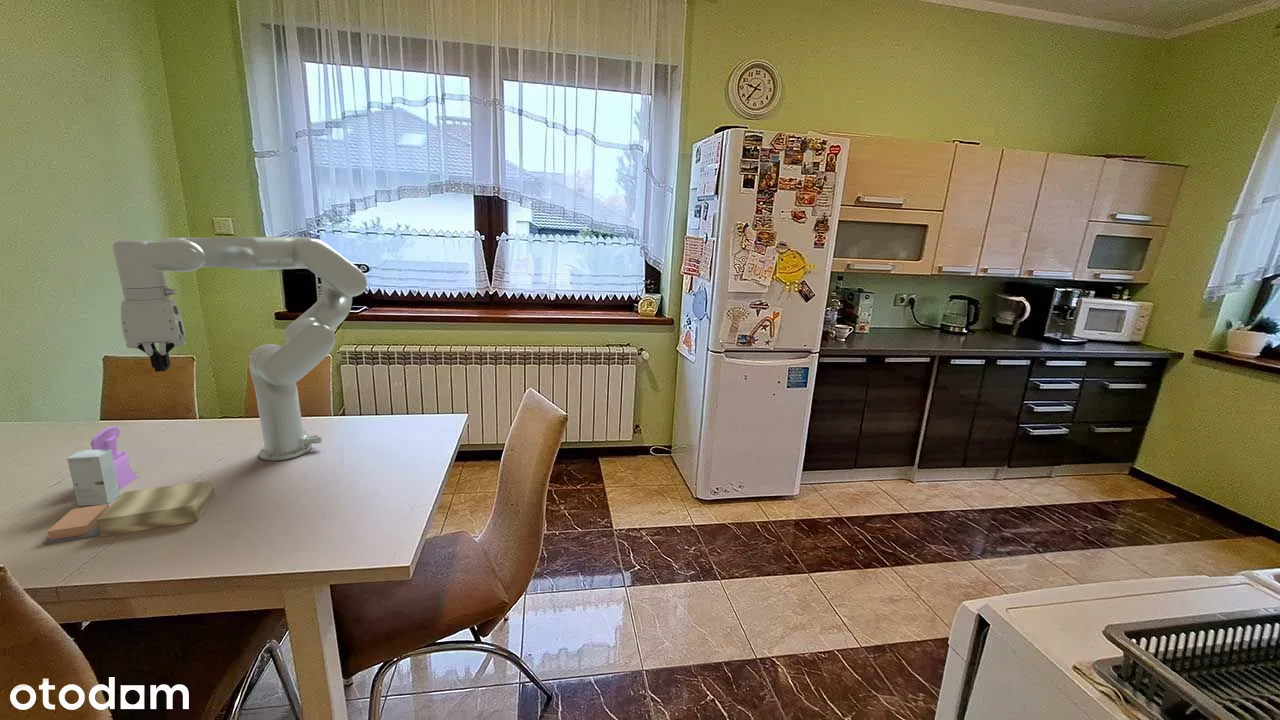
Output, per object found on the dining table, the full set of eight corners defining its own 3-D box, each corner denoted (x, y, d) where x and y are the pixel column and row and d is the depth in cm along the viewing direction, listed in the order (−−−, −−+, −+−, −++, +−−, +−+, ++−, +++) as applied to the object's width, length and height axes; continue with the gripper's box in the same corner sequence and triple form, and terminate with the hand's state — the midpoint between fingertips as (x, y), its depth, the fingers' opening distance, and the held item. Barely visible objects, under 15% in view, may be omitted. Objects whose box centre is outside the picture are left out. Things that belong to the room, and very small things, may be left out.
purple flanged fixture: (101, 477, 131) (86, 422, 127) (141, 475, 133) (128, 421, 129) (73, 493, 123) (57, 436, 119) (116, 491, 125) (102, 434, 121)
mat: (127, 508, 118) (126, 507, 118) (102, 535, 108) (102, 533, 108) (73, 516, 114) (73, 515, 114) (43, 544, 105) (43, 543, 105)
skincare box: (77, 506, 118) (63, 458, 115) (92, 496, 122) (79, 450, 119) (109, 504, 119) (96, 456, 116) (123, 494, 124) (111, 448, 120)
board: (214, 495, 125) (211, 480, 124) (197, 521, 114) (193, 505, 113) (128, 507, 118) (124, 492, 117) (101, 536, 108) (96, 519, 107)
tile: (72, 508, 113) (74, 517, 114) (47, 531, 105) (50, 539, 106) (108, 503, 116) (110, 511, 116) (86, 525, 108) (89, 533, 108)
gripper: (192, 291, 126) (206, 363, 130) (111, 292, 120) (129, 368, 124) (180, 295, 119) (195, 371, 124) (94, 297, 113) (113, 377, 118)
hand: (162, 369), depth 124 cm, fingers closed
